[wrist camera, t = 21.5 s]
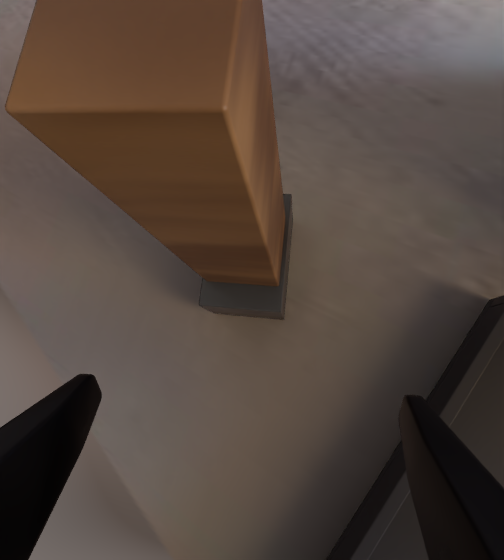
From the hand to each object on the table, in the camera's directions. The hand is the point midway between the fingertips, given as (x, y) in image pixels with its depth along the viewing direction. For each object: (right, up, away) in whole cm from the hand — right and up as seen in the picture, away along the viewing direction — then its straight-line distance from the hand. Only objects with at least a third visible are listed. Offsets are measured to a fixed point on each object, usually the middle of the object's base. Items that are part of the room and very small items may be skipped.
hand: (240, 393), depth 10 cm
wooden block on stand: (0, +4, +10) cm, 11 cm away
